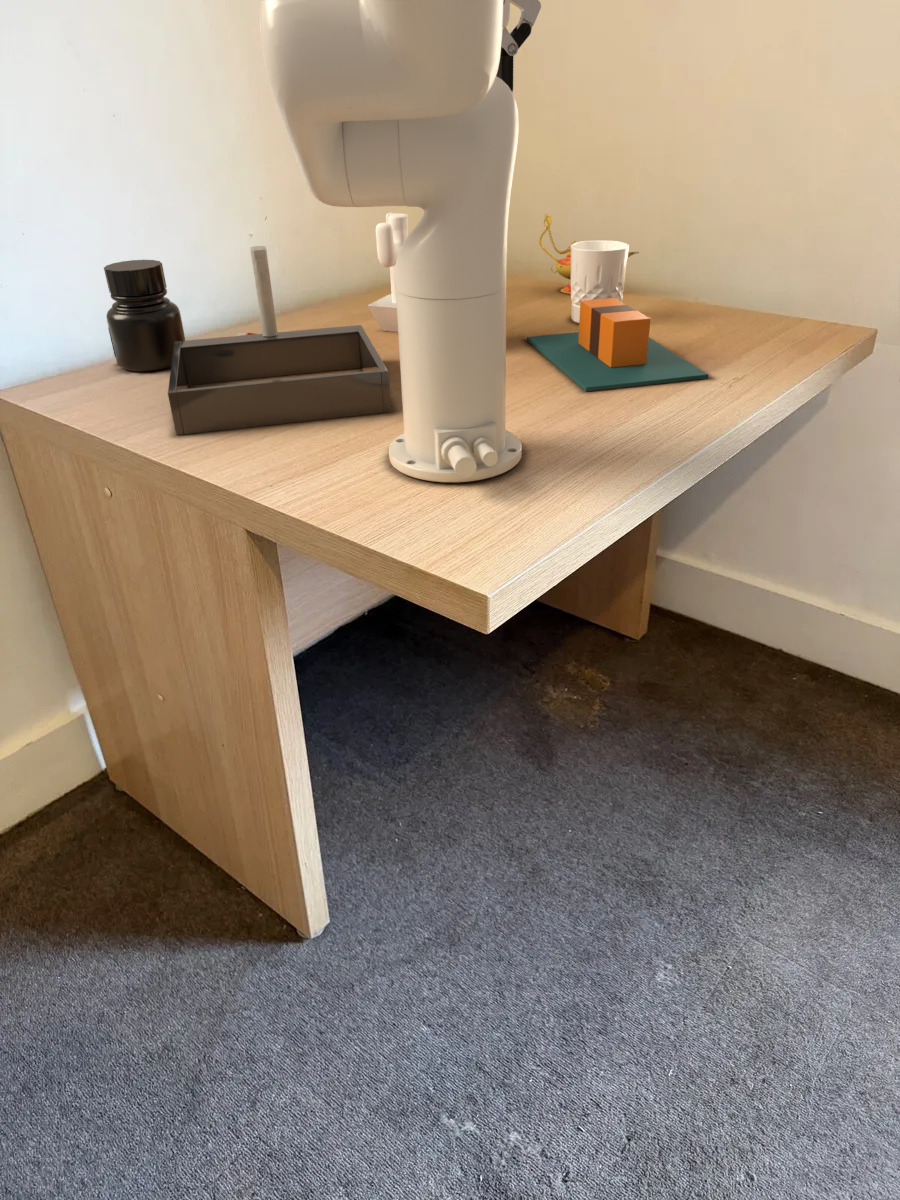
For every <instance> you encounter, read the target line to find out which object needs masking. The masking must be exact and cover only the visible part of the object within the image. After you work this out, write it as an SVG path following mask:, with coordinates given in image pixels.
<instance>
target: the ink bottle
mask: <svg viewBox="0 0 900 1200" xmlns="http://www.w3.org/2000/svg"><path fill="white" fill-rule="evenodd" d="M103 271H104V275H105V279H106V284H107V288H108V292H109V294H110V298H111V299H112V300H113V301H115V302H113V303H112V304H111V308H109V309H108V310H107V313H106V323H107V326H108V334H109V337H110V343H111V346H112V350H113V355H114V358H115V360H116V365H117V366H118V367H119V368H122V369H123V370H127V371H133V372H151V371H152V372H153V371H160V370H164V369H168V368H171V364H172V357H173V349H174V342H176V341H186V337H185V330H184V325H183V319H182V315H181V311H180V309H179V307H178V305H177V304H176V303H175V302H173V301H171V300H170V299H169V298H168V297H166V296H167V294H168V289H167V282H166V277H165V272H164V267H163V263H162V262H161V261H160V260H157V259H156V260H155V259H131V260H122V261H117V262H112V263H110V264H107V265H105V266H103Z"/></svg>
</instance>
